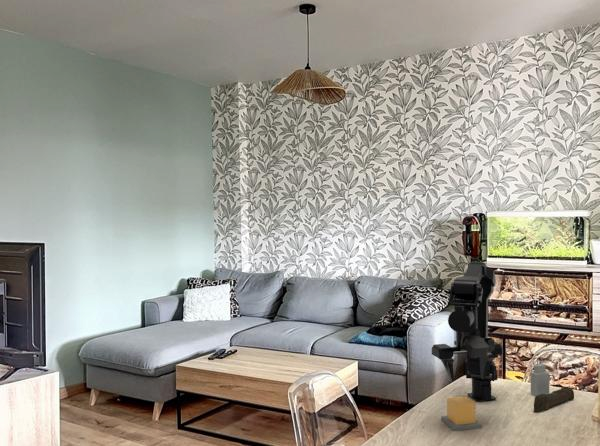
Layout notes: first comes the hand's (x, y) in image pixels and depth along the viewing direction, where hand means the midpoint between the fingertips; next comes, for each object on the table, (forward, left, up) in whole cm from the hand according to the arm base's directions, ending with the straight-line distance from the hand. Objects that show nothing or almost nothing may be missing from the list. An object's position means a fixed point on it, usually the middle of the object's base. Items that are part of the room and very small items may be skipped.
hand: (467, 380), depth 155 cm
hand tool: (-6, +30, -12) cm, 33 cm away
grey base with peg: (+1, -3, -12) cm, 12 cm away
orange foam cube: (+1, -3, -11) cm, 11 cm away
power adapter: (-15, +32, -12) cm, 38 cm away
